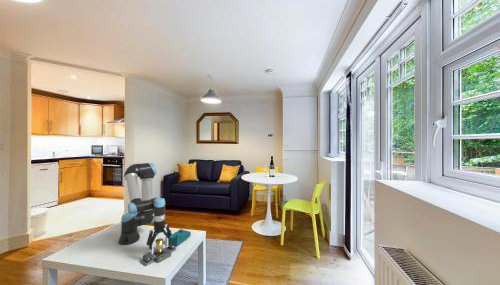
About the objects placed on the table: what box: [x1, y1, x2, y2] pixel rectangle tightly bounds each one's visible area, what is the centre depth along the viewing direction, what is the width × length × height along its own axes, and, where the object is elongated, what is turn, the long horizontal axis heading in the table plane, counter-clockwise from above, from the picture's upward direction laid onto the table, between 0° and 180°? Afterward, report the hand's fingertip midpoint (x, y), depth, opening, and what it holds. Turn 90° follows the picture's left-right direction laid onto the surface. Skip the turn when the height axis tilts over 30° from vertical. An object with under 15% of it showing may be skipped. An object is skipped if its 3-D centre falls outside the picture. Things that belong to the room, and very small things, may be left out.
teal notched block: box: [166, 228, 192, 247], centre depth 167 cm, size 18×11×10 cm, turn 161°
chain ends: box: [140, 244, 177, 267], centre depth 145 cm, size 14×23×4 cm, turn 145°
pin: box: [155, 237, 164, 256], centre depth 145 cm, size 5×5×12 cm
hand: (159, 249), depth 145 cm, fingers open, 11 cm apart
